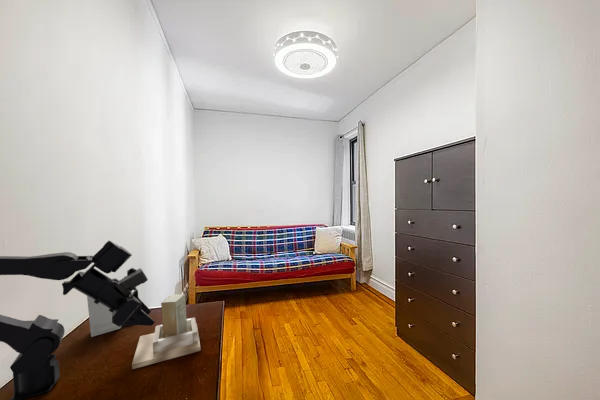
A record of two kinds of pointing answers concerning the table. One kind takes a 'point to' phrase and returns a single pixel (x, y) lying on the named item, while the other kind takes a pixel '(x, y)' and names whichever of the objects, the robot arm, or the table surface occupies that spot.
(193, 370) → the table surface
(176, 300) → the skincare box
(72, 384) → the table surface
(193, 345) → the collar holder
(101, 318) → the skincare box
